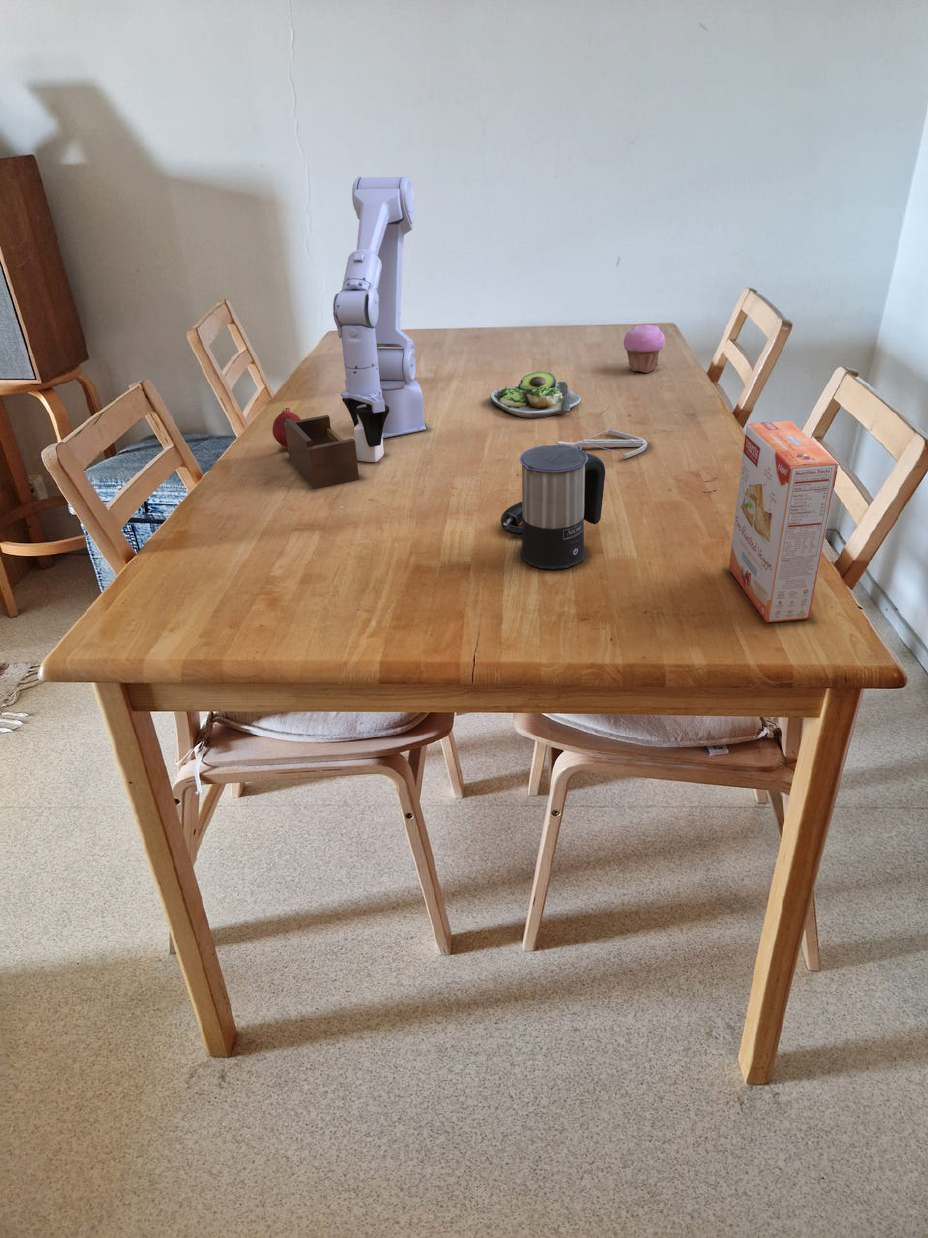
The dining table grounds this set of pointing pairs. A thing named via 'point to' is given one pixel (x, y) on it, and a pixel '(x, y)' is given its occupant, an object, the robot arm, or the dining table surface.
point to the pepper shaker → (361, 444)
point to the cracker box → (781, 519)
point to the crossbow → (612, 443)
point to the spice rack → (321, 452)
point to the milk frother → (556, 504)
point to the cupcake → (644, 347)
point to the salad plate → (536, 397)
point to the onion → (283, 426)
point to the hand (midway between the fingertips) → (368, 440)
